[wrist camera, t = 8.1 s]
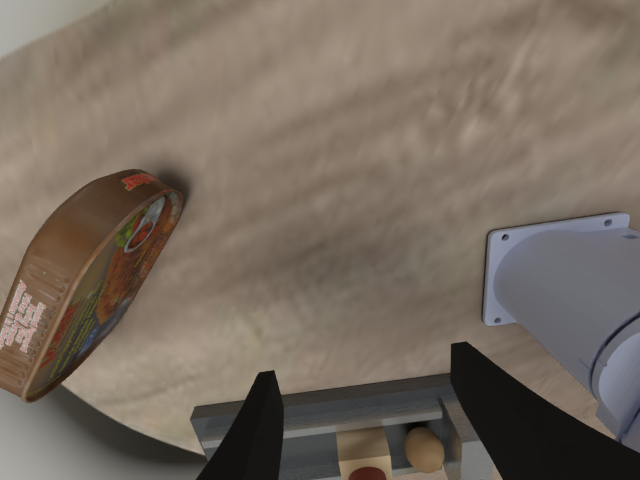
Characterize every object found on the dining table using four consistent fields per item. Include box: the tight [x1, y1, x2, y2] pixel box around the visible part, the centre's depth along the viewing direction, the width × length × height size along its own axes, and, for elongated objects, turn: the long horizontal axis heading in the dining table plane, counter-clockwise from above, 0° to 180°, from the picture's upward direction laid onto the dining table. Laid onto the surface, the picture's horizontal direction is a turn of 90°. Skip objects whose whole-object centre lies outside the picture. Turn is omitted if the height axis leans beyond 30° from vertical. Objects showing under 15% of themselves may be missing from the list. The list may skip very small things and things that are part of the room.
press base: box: [190, 373, 493, 480], centre depth 26 cm, size 24×10×5 cm, turn 98°
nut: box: [404, 427, 444, 473], centre depth 25 cm, size 3×3×3 cm
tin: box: [0, 169, 184, 403], centre depth 17 cm, size 15×3×8 cm, turn 144°
